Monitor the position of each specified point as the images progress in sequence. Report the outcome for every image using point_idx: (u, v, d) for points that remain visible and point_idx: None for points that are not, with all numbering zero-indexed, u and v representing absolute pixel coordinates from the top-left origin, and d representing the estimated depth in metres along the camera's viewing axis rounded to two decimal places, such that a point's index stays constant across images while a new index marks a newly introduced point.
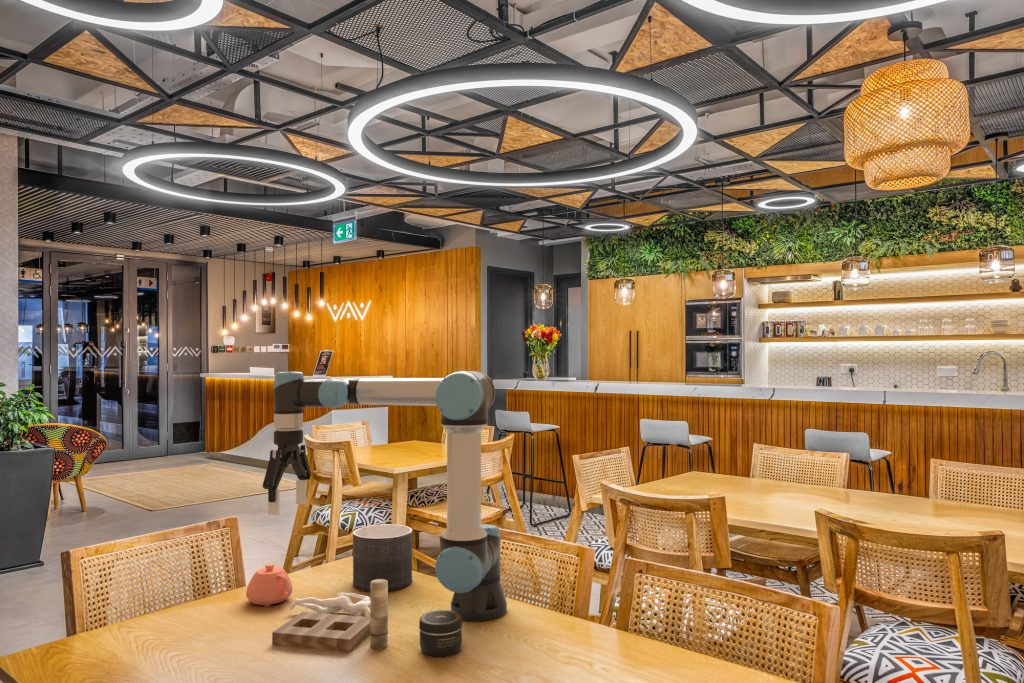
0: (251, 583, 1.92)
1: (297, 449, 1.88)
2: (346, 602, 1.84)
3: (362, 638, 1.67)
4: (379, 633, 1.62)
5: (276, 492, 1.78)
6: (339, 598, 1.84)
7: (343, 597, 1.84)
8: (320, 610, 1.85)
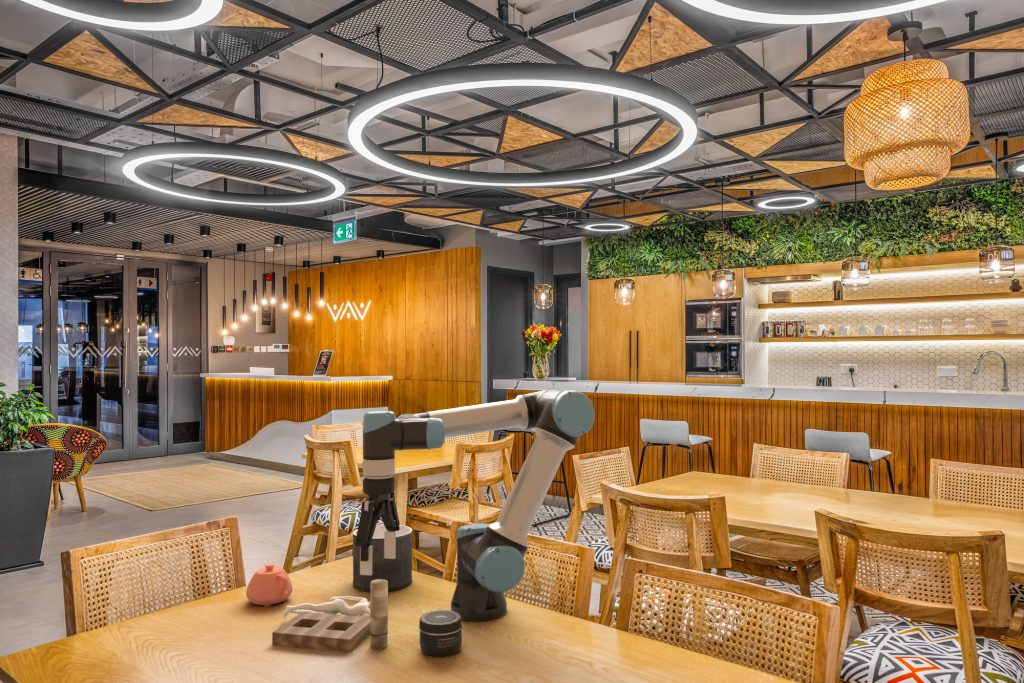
0: (251, 583, 1.92)
1: (387, 498, 1.68)
2: (344, 605, 1.81)
3: (362, 638, 1.67)
4: (379, 633, 1.62)
5: (369, 550, 1.58)
6: (336, 602, 1.81)
7: (340, 600, 1.81)
8: None
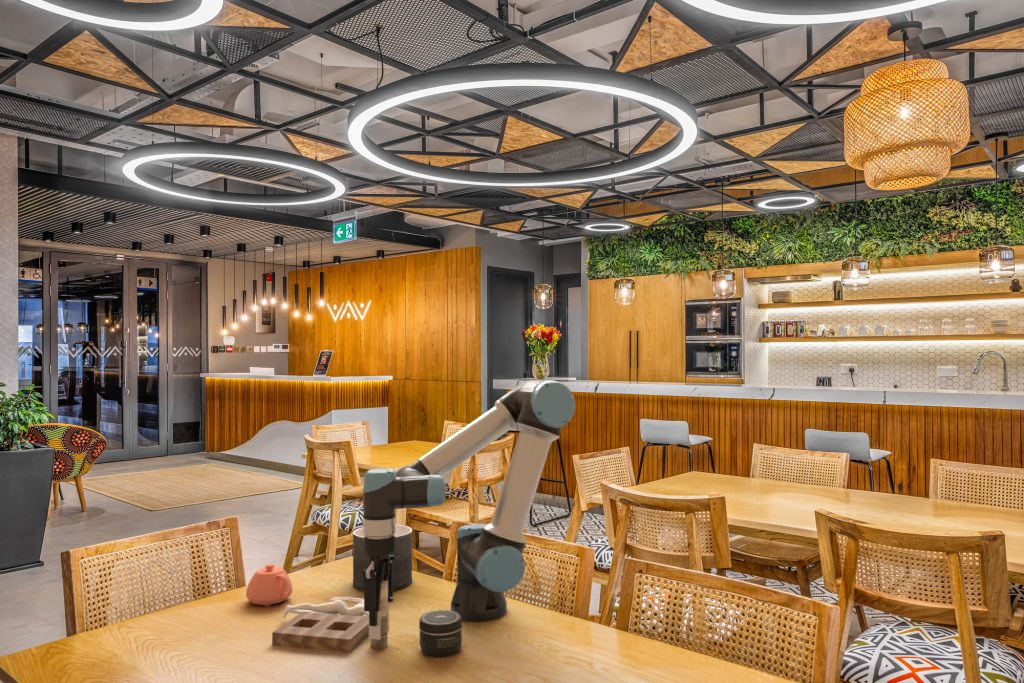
0: (251, 583, 1.92)
1: (388, 555, 1.67)
2: (343, 606, 1.80)
3: (362, 638, 1.67)
4: None
5: (377, 614, 1.61)
6: (336, 602, 1.80)
7: (340, 601, 1.81)
8: None
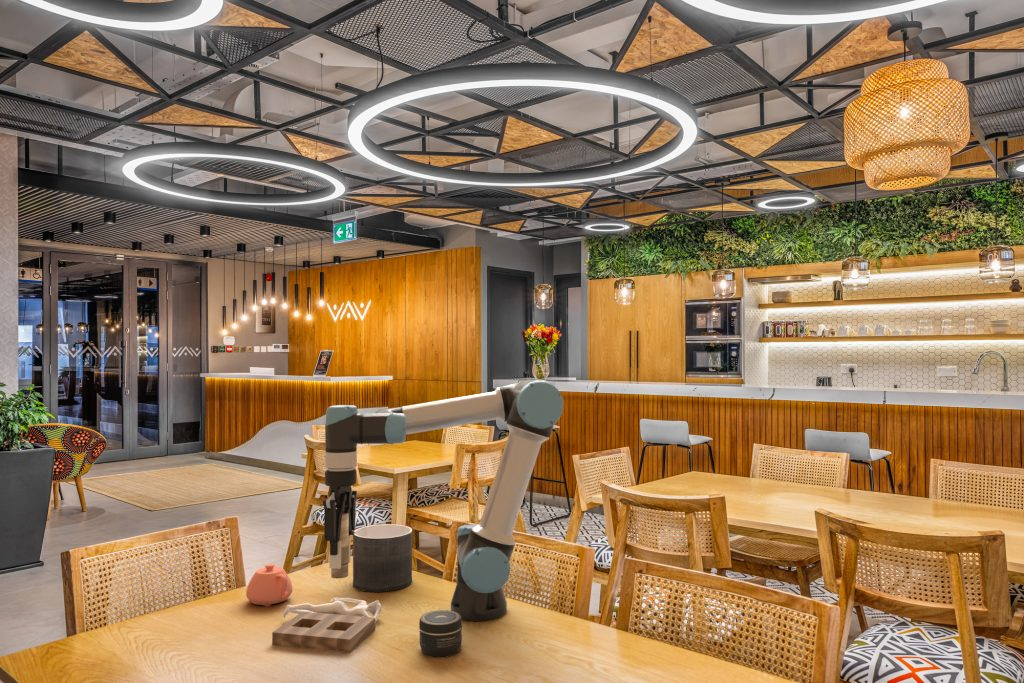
0: (251, 583, 1.92)
1: (349, 489, 1.72)
2: (342, 607, 1.80)
3: (362, 638, 1.67)
4: None
5: (338, 544, 1.66)
6: (335, 603, 1.80)
7: (339, 602, 1.80)
8: None
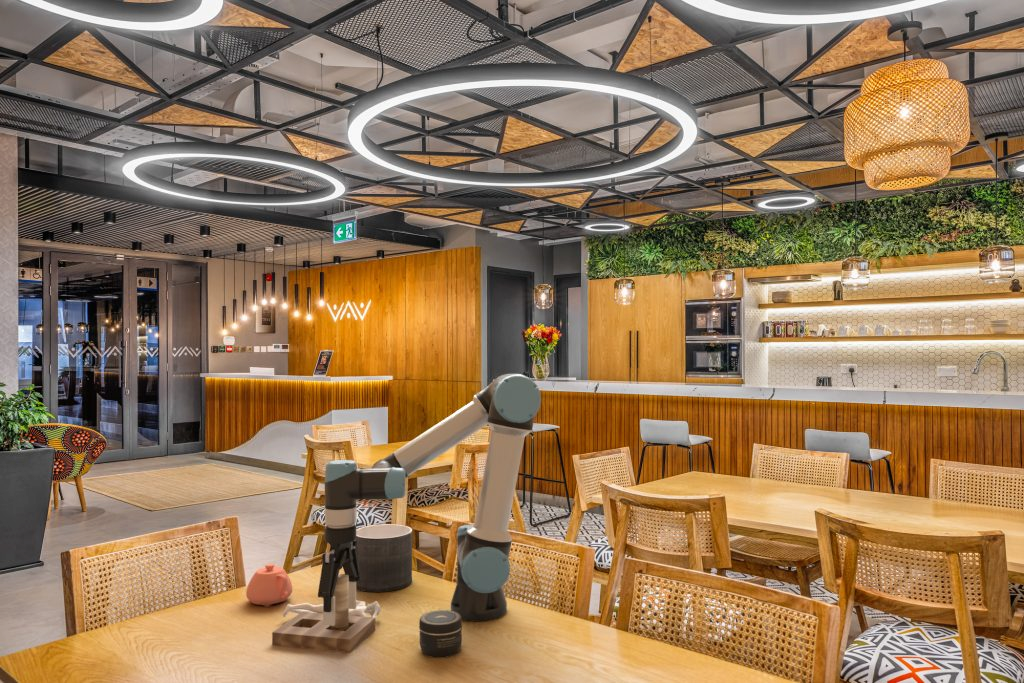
0: (251, 583, 1.92)
1: (349, 545, 1.72)
2: None
3: (362, 638, 1.67)
4: (340, 626, 1.67)
5: (331, 601, 1.63)
6: None
7: None
8: None
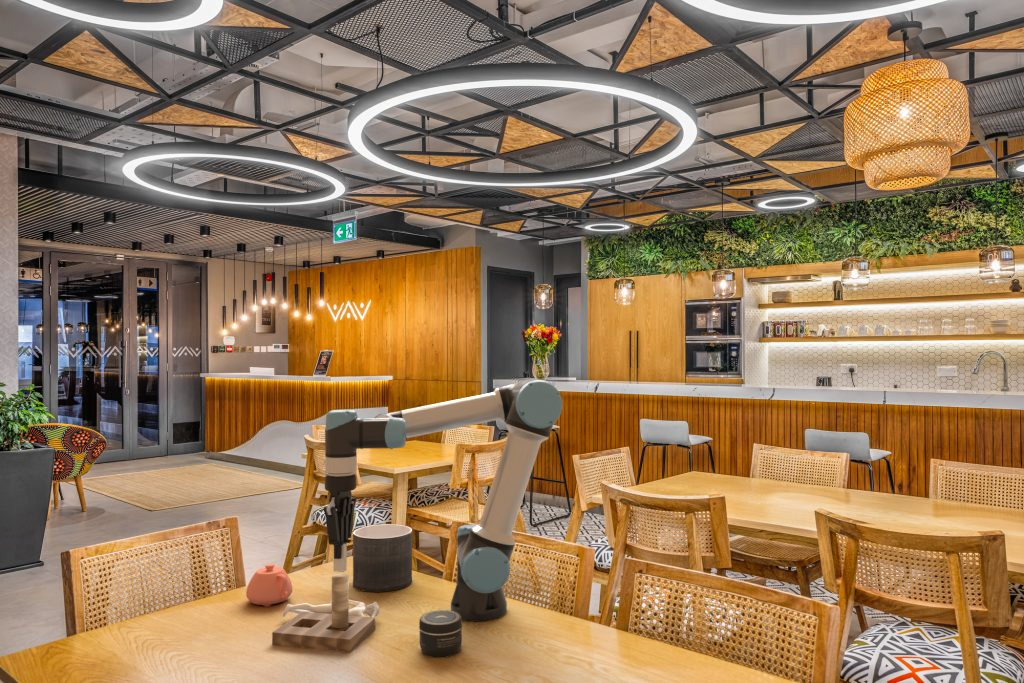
0: (251, 583, 1.92)
1: (350, 494, 1.72)
2: None
3: (362, 638, 1.67)
4: (340, 626, 1.67)
5: (342, 548, 1.68)
6: None
7: None
8: None
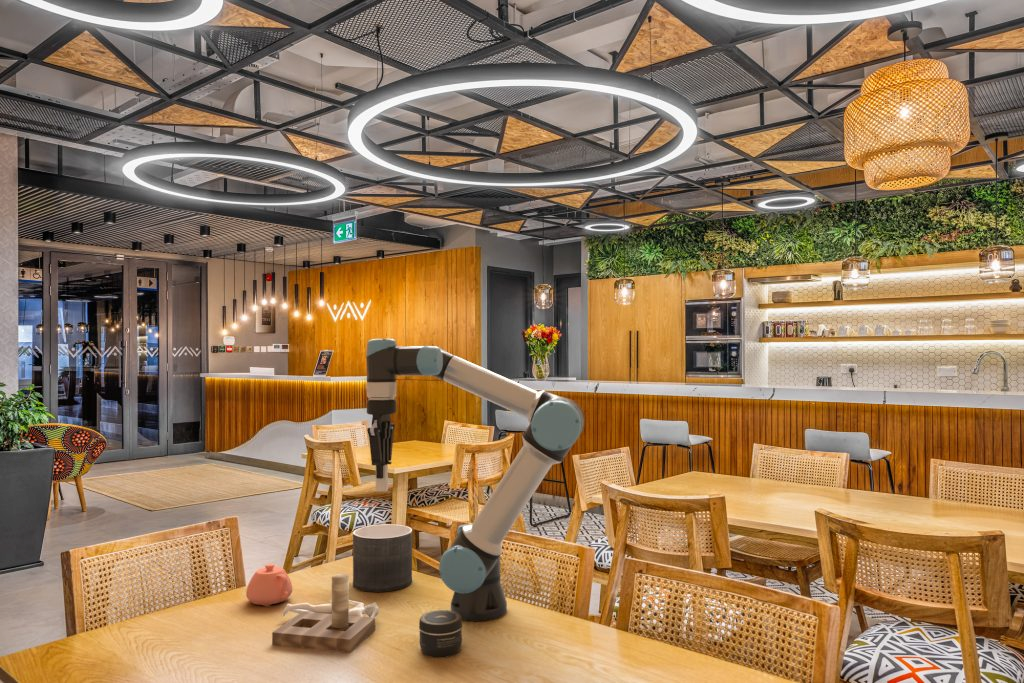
0: (251, 582, 1.92)
1: (389, 419, 1.82)
2: None
3: (362, 638, 1.67)
4: (340, 626, 1.67)
5: (383, 468, 1.78)
6: None
7: None
8: None
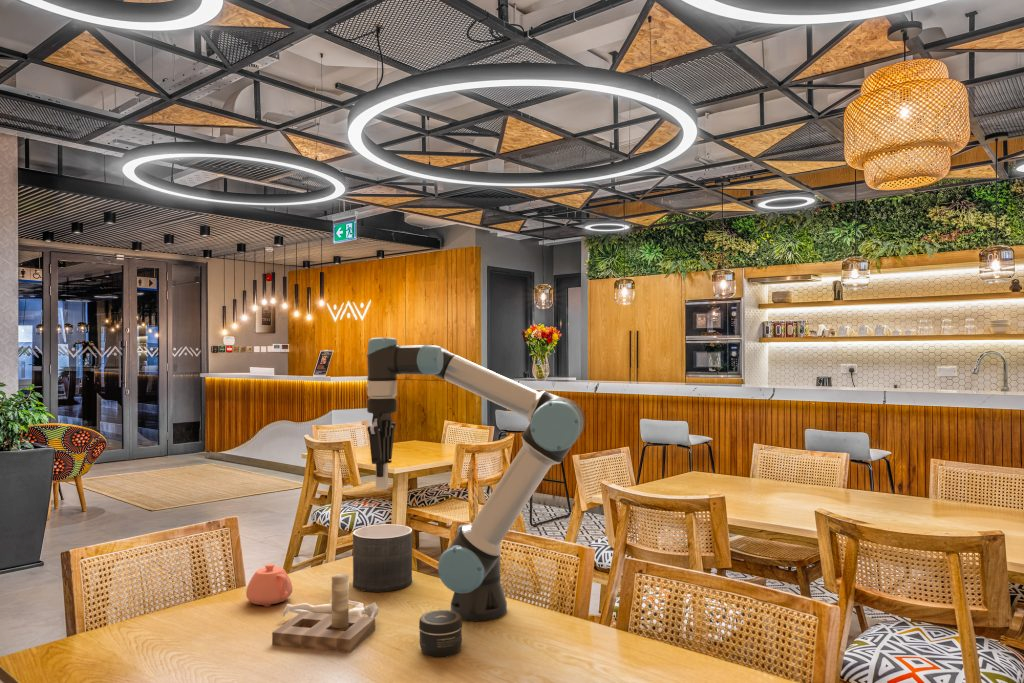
0: (251, 583, 1.92)
1: (390, 418, 1.82)
2: None
3: (362, 638, 1.67)
4: (340, 626, 1.67)
5: (383, 467, 1.78)
6: None
7: None
8: None
